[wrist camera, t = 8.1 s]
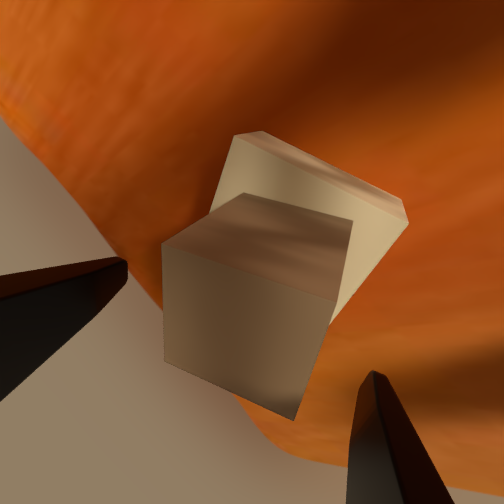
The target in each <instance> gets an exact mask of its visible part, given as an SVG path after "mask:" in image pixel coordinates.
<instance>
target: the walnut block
mask: <svg viewBox="0 0 504 504" xmlns="http://www.w3.org/2000/svg"><path fill="white" fill-rule="evenodd" d="M352 226H353V220H349V219H345V218H341V217H337V216H333V215H329V214H325V213H322V212H318V211H314V210H310V209H306V208H302V207H298V206H294V205H291V204H287V203H283V202H279V201H275V200H271V199H267V198H264V197H260V196H256V195H252V194H248V193H244V192H243V193H242V194H240V195H238V196H237V197H235V198H234V199H232V200H230V201H229V202H227V203H226V204H224V205H222V206H221V207H219V208H218V209H216V210H214V211H213V212H211V213H209V214H208V215H206V216H205V217H203V218H201V219H200V220H198V221H197V222H195V223H193V224H192V225H190V226H189V227H187V228H185V229H184V230H182V231H181V232H179V233H177V234H176V235H174V236H173V237H171V238H169V239H168V240H166V241H165V242H163V243H161V252H162V288H163V325H164V361H165V362H167V363H169V364H171V365H173V366H176V367H178V368H180V369H182V370H184V371H186V372H188V373H191V374H193V375H195V376H197V377H200V378H201V379H204V380H206V381H208V382H210V383H212V384H215V385H216V386H219V387H221V388H223V389H225V390H227V391H229V392H232V393H234V394H236V395H238V396H240V397H242V398H245V399H247V400H249V401H251V402H253V403H255V404H257V405H260V406H262V407H264V408H266V409H268V410H270V411H273V412H275V413H277V414H279V415H281V416H283V417H285V418H288V419H290V420H292V421H294V419H295V417H296V414H297V411H298V408H299V406H300V403H301V400H302V397H303V395H304V392H305V389H306V386H307V384H308V381H309V378H310V375H311V373H312V370H313V367H314V364H315V362H316V359H317V356H318V354H319V351H320V348H321V345H322V343H323V340H324V337H325V334H326V332H327V329H328V326H329V323H330V321H331V318H332V315H333V312H334V310H335V307H336V304H337V300H338V295H339V290H340V285H341V280H342V275H343V271H344V266H345V261H346V256H347V251H348V246H349V241H350V236H351V231H352Z"/></svg>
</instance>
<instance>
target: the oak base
mask: <svg viewBox="0 0 504 504" xmlns="http://www.w3.org/2000/svg"><path fill="white" fill-rule="evenodd" d="M243 192H244V193H248V194H252V195H256V196H260V197H264V198H267V199H271V200H275V201H279V202H283V203H287V204H291V205H294V206H298V207H302V208H306V209H310V210H314V211H318V212H322V213H325V214H329V215H333V216H337V217H341V218H345V219H349V220H353V226H352V231H351V236H350V241H349V246H348V251H347V256H346V261H345V266H344V271H343V275H342V280H341V285H340V290H339V295H338V300H337V304H336V307H335V310H334V312H333V315H332V318H331V321H330V323H331V322H332V321H333V319H334V318H335V317H336V315H337V314H338V313H339V312H340V310H341V309H342V308H343V307H344V305H345V304H346V303H347V302H348V300H349V299H350V298H351V296H352V295H353V294H354V293H355V291H356V290H357V289H358V288H359V286H360V285H361V284H362V282H363V281H364V280H365V279H366V277H367V276H368V275H369V274H370V272H371V271H372V270H373V268H374V267H375V266H376V265H377V263H378V262H379V261H380V260H381V258H382V257H383V256H384V255H385V253H386V252H387V251H388V249H389V248H390V247H391V246H392V244H393V243H394V242H395V241H396V239H397V238H398V237H399V235H400V234H401V233H402V232H403V230H404V229H405V228H406V227H407V225H408V224H409V222H408V219H407V216H406V213H405V210H404V207H403V203H402V200H401V199H399V198H397V197H395V196H393V195H391V194H389V193H387V192H385V191H383V190H381V189H379V188H377V187H375V186H373V185H371V184H369V183H367V182H365V181H363V180H361V179H359V178H357V177H355V176H353V175H351V174H349V173H347V172H345V171H343V170H341V169H339V168H337V167H334V166H332V165H330V164H328V163H326V162H324V161H322V160H320V159H318V158H316V157H314V156H312V155H310V154H308V153H306V152H304V151H302V150H300V149H298V148H296V147H294V146H292V145H290V144H288V143H286V142H284V141H282V140H280V139H278V138H276V137H274V136H272V135H270V134H268V133H266V132H264V131H257V132H251V133H245V134H239V135H234V137H233V140H232V143H231V147H230V150H229V153H228V156H227V159H226V162H225V165H224V168H223V171H222V175H221V178H220V181H219V184H218V187H217V190H216V193H215V196H214V199H213V203H212V206H211V209H210V212H209V213H211V212H213V211H214V210H216V209H218V208H219V207H221V206H222V205H224V204H226V203H227V202H229V201H230V200H232V199H234V198H235V197H237V196H238V195H240V194H242V193H243ZM330 323H329V324H330Z"/></svg>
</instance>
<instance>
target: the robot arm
mask: <svg viewBox="0 0 504 504" xmlns="http://www.w3.org/2000/svg"><path fill="white" fill-rule="evenodd" d="M127 279H128V263H127V261H126V260H124V259H122V258H120V257H110V258H104V259H98V260H92V261H85V262H79V263H74V264H67V265H61V266H55V267H49V268H43V269H37V270H31V271H25V272H19V273H13V274H8V275H1V276H0V402H1V401H2V400H3V399H4V398H5V397H6V396H7V395H8V394H9V393H11V392H12V391H13V390H14V389H15V388H16V387H17V386H18V385H20V384H21V383H22V382H23V381H24V380H25V379H26V378H27V377H28V376H30V375H31V374H32V373H33V372H34V371H35V370H36V369H37V368H38V367H39V366H41V365H42V364H43V363H44V362H45V361H46V360H47V359H48V358H49V357H51V356H52V355H53V354H54V353H55V352H56V351H57V350H59V349H60V347H62V346H63V345H64V344H65V343H66V342H67V341H69V340H70V338H72V337H73V336H74V335H75V334H76V333H77V332H79V331H80V330H81V329H82V328H83V327H84V326H85V325H86V324H87V323H89V322H90V321H91V320H92V319H93V318H94V317H95V316H96V315H97V314H98V313H99V312H100V311H101V310H102V309H103V308H104V307H105V306H106V305H107V303H108V302H109V301H110V300H111V299H112V298H113V297H114V296H115V294H117V293H118V291H119V290H120V289H121V288H122V287H123V286H124V285H125V284H126V282H127ZM346 504H455V503H454V502H453V500H452V498H451V496H450V494H449V492H448V490H447V488H446V487H445V485H444V483H443V481H442V479H441V477H440V475H439V474H438V472H437V470H436V468H435V466H434V464H433V462H432V460H431V459H430V457H429V455H428V453H427V451H426V449H425V447H424V445H423V444H422V442H421V440H420V438H419V436H418V434H417V432H416V430H415V429H414V427H413V425H412V423H411V421H410V419H409V417H408V415H407V414H406V412H405V410H404V408H403V406H402V404H401V402H400V400H399V399H398V397H397V395H396V393H395V391H394V389H393V387H392V386H391V384H390V382H389V380H388V378H387V377H386V376H385V375H383V374H381V373H379V372H377V371H374V370H372V371H371V372H370V373H369V374H368V376H367V377H366V378H365V380H364V381H363V383H362V384H361V386H360V388H359V391H358V396H357V402H356V407H355V413H354V419H353V425H352V430H351V436H350V444H349V457H348V476H347V492H346Z"/></svg>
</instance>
